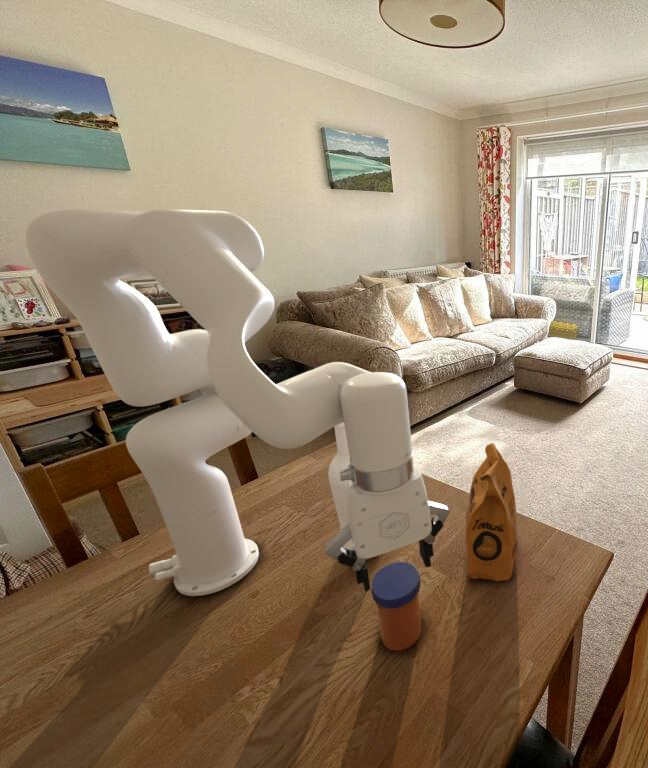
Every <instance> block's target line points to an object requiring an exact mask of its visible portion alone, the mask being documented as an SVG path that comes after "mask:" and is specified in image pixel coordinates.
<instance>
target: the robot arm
mask: <svg viewBox="0 0 648 768" xmlns="http://www.w3.org/2000/svg"><path fill="white" fill-rule="evenodd" d="M25 242H26V248H27V252H28V255H29V257H30V260H31V262H32V264H33V266H34V268H35V269H36V271H37V273H38V274H39V276H40V277H41V279H42V280H43V281H44V283H45V284H46V286H48V288H49V289H50V290H51V291H52V292H53V293H54V295H56V297H57V298H58V299H59V300H60V301H61V302H62V303H63V304H64V305H65V306H66V307H67V308H68V310H69V311H70V312H71V313H72V314H73V316H74V317H75V318H76V320H77V322H78V324H79V325H80V327H81V329H82V332H83V333H84V335H85V337H86V339H87V341H88V344H89V345H90V347H91V350H92V351H93V354H94V355H95V357H96V359H97V361H98V363H99V365H100V367H101V369H102V372H103V373H104V375H105V377H106V379H107V381H108V383H109V385H110V386H111V389H112V390H113V391H114V393H115V395H116V396H117V397H118V398H119V399H120V400H121V401H122V402H124V403H125V404H126V405H129V406H132V407H141V408H142V407H149V406H153V405H156V404H160V403H164V402H167V401H171V400H173V399H176V398H179V397H181V396H185V395H187V394H191V393H193V392H196V391H198V390H200V393H201V394H202V395H201V396H199V397H196V398H194V399H191V400H188V401H185V402H181V403H179V404H177V405H174V406H171V407H168V408H166V409H164V410H163V409H162V410H159V411H158V412H155V413H153V414H150V415H148V416H147V417H145V418H143V419H141V420H139V421H138V422H137V423H135V424H134V425H133V426H131V428H130V429H129V431H127V434H126V437H125V446H126V449H127V451H128V454H129V455H130V457H131V459H132V460H133V462H134V463H135V465H136V466H137V467H138V469H139V470H140V471H141V473H142V475H143V476H144V478H145V480H146V481H147V483H148V485H149V487H150V489H151V492H152V495H153V496H154V499H155V501H156V503H157V506H158V510H159V511H160V513H161V516H162V519H163V522H164V525H165V527H166V531H167V532H168V535H169V538H170V541H171V543H172V546H173V548H174V552H175V554H174V555H172V557H171V558H168V559H163V560H159V561H156V562H152V563H149V565H148V572H149V575H150V576H154V580H155V582H156V583H158V582H160V581H164V580H167V579H169V578H173V584H174V588H175V589H176V590H177V592H178V593H180V594H181V595H184V596H188V597H199V596H200V597H201V596H205V595H211V594H214V593H217V592H220V591H222V590H225V589H227V588H229V587H230V586H232V585H234V584H236V583H238V582H239V581H240V580H241V579H243V578H244V577H245V576H247V575H248V574H249V573H250V572H251V571H252V570H253V568H254V567H255V565H256V564H257V562H258V559H259V556H260V555H259V554H260V552H259V547H258V545H257V544H256V542H254V541H253V540H252V539H249V538H245V535H244V533H243V532H244V531H243V528H242V525H241V521H240V518H239V517H240V516H239V514H238V510H237V506H236V503H235V499H234V497H233V493H232V489H231V486H230V483H229V480H228V477H227V476H226V474H225V473H224V472H223V471H222V470H221V469H220V468H217V467H216V466H213V465H210V464H208V463H207V462H206V461H207V460H208V459H209V458H210V457H212V456H214V455H216V454H217V453H219V452H220V451H222V450H224V449H226V448H228V447H231V446H232V445H234V444H236V443H238V442H239V441H242V440H243V439H245V438H247V437H248V436H249V435H251V434H252V433H253V434H254V435H256V436H257V437H258V438H259V439H261V440H262V441H263V442H265V443H266V444H268V445H270V446H273V447H274V448H277V449H282V450H293V449H297V448H300V447H304V446H305V445H306V444H308V443H310V442H313V441H314V440H315V439H317V438H318V437H320V436H321V435H323V434H325V433H326V432H328V431H330V430H331V429H332V428H334V426H336V425H338V424H341V423H343V422H344V424H345V431H346V437H347V443H348V450H349V456H350V465H348V468H345V469H344V470H340V471H339V474H340V479H341V481H345V480H348V481H349V480H350V482H349V488H348V515H349V524H348V525H346V526H345V527H344V528H343V529H342V530H341V531H340V530H339V531H338V532H337V533H336V534H335V535H334V536H333V537H332V538H331V539H330V540H328V542H326V543H325V544H324V550H325V554H326V555H327V556H329V558H332V559H334V560H336V561H338V563H339V564H340V565H344V566H347V567H350V568H352V570H353V571H354V572H355V577H356V581H357V585H361V584H362V585H363V589H364V592H365V593H366V592H368V591H370V590H371V583H370V577H369V570H368V566H367V563H366V561H367V560H368V559H367V558H369V559H371V558H375V557H377V556H381V555H384V554H386V553H389V552H392V551H395V550H399V549H401V548H403V547H407V546H409V545H412V544H414V543H417V542H418V547H419V554H420V557H421V560H422V562H423V564H424V567H425V568H430V567H432V560H431V558H432V557H434V546H433V545H434V543H435V541H436V537H437V535H438V534H439V533H440V532H441V530H442V529H443V527H444V523H445V522H446V521H447V519H448V517H449V516H450V515H451V510H450V509H449V506H448V505H446V504H442V503H439V502H435V501H432V500H429V499H428V493H427V489H426V485H425V481H424V477H423V475H422V471H420V469H419V468H418V467H417V466H416V465H415V464H414V455H413V443H412V433H411V431H412V430H411V423H410V422H411V421H410V411H409V400H408V399H409V398H408V391H407V386H406V383H405V381H404V380H403V379H402V378H401V377H400V376H399V375H397V374H395V373H391V372H385V371H374V372H373V371H368V370H366V369H364V368H361V367H358V366H356V365H353V364H351V363H348V362H344V361H343V362H342V361H333V362H328V363H325V364H323V365H320V366H317V367H315V368H313V369H310V370H308V371H305V372H302V373H300V374H297V375H294V376H293V377H290V378H287V379H284V380H283V381H281V382H278V383H275V382H274V381H273V380H271V379H270V377H268V375H266V374H265V373H264V372H263V371H262V369H260V368H259V367H258V366H257V364H256V363H255V362H254V361H253V360H252V358H251V356H250V354H249V352H248V350H247V347H246V342H247V341H249V340H250V339H251V338H252V337H253V336H254V335H256V334H257V333H258V332H259V331H260V330H261V329H262V328H264V327H265V325H266V324H267V323H268V322H269V320H270V318H271V316H272V315H273V312H274V310H275V305H276V303H275V299H274V296H273V294H272V293H271V292H270V291H269V289H268V288H266V286H264V285H263V283H262V282H260V281H259V280H258V279H257V277H255V275H253V273H254V272H255V271H257V270H259V268H260V267H261V266H262V264H263V263H264V260H265V248H264V245H263V242H262V239H261V236H260V235H259V234H258V232H257V230H256V229H255V228H254V227H253V226H252V225H251V224H250V223H249V222H248V221H247V220H245V219H244V218H243V217H242V216H239V215H237V214H235V213H233V212H229V211H223V210H208V209H207V210H205V209H204V210H202V209H199V210H198V209H183V208H182V209H179V208H162V209H153V210H148V211H146V210H145V211H144V210H123V209H122V210H120V209H100V208H99V209H98V208H97V209H96V208H93V209H92V208H82V209H81V208H77V209H63V210H56V211H50V212H46V213H42V214H40V215H38V216H36V217H35V218H33V219H32V220H31V221H30V223H29V224H28V225H27V227H26V232H25ZM148 276H151V277H152V278H153V279H154V280H155V281H156V283H157V284H159V285H160V287H162V289H164V290H165V291H166V292H167V293H168V294H169V295H170V296H171V297H172V298H173V299H174V300H175V301H176V302H177V303H178V304H179V305H180V306H181V307H182V308H183V309H184V310H185V311H186V312H187V313H188V314H189V315H190V316H191V317H192V318H193V319H194V320H195V321H196V322H197V323H198V324H199V325H200V326H201V327H202V328H203V329H201V328H195V329H187V330H183V331H177V332H174V333H169V331H168V329H167V328H166V326H165V324H164V321H163V318H162V316H161V314H160V312H159V310H158V307H156V305H155V304H154V303H153V301H151V300H150V299H149V298H148V297H147V296H146V295H144V294H142V293H141V292H140V291H139V290H137V289H136V288H135V287H133V286H131V285H130V284H128V283H126V282H124V281H122V280H121V279H127V278H135V277H137V278H138V277H148ZM431 515H435V516H433V517H432V516H431ZM431 517H432V518H431ZM351 538H352V542H353V546H354V547H353V549H352V550H349V549H346V548H342V546H343V545H345V544H346V543H347V542H348V541H349V540H350V539H351Z"/></svg>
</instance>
